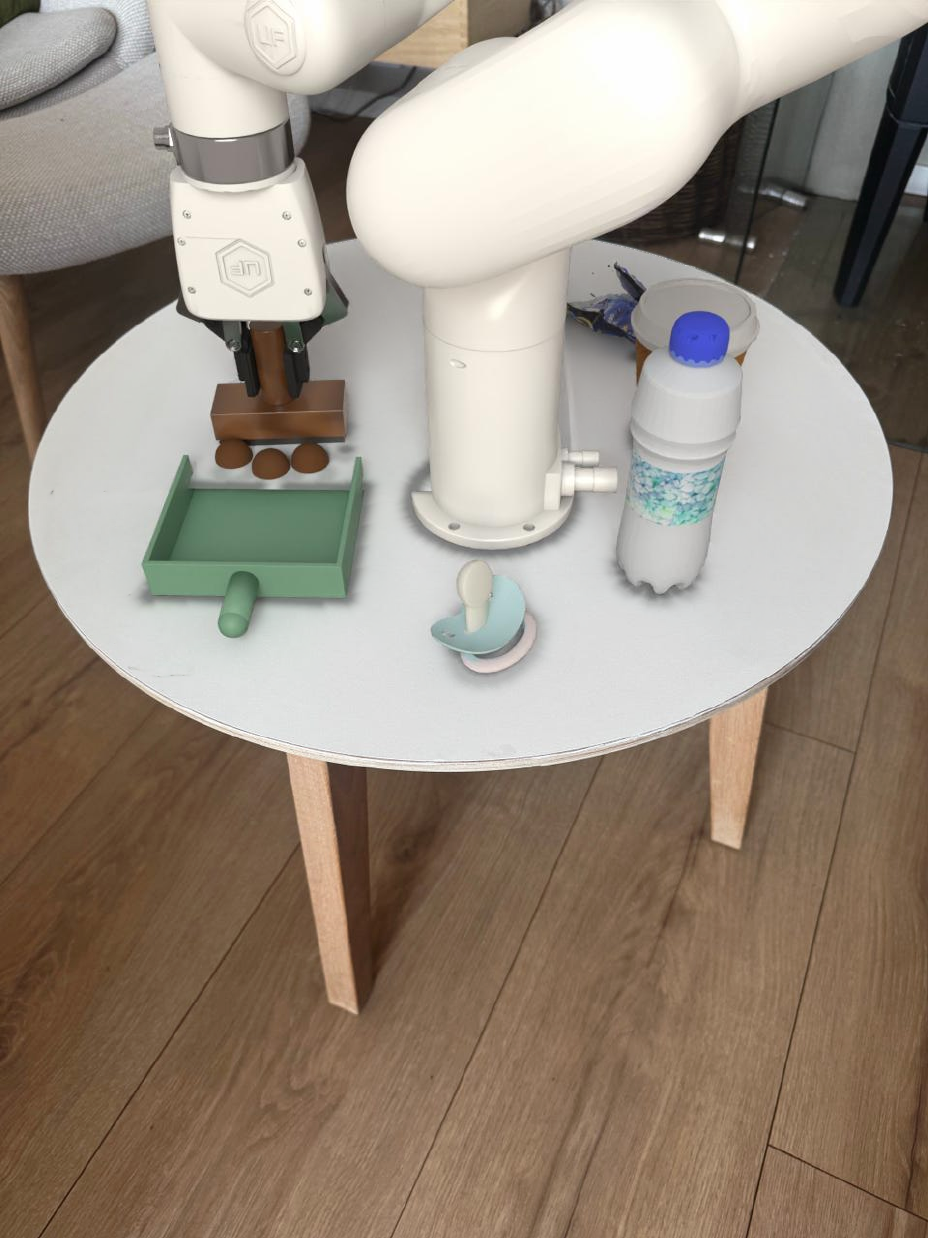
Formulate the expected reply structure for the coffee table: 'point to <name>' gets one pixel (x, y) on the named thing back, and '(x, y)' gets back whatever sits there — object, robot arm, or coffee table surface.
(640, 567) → the bottle
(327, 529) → the dustpan
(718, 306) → the disposable coffee cup
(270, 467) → the crumb
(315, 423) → the brush
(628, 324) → the snack package
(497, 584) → the pacifier
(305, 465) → the crumb
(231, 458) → the crumb
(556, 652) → the coffee table surface
